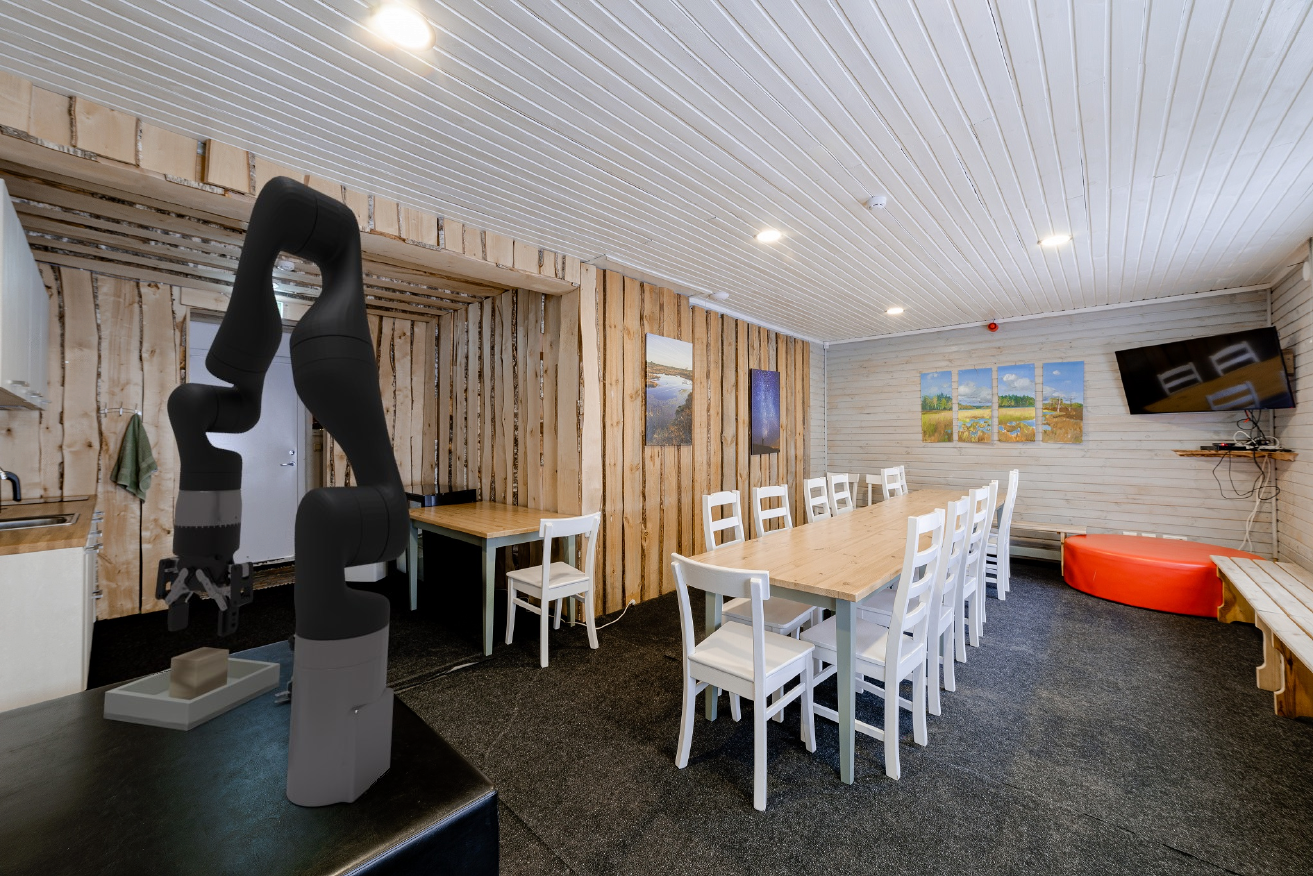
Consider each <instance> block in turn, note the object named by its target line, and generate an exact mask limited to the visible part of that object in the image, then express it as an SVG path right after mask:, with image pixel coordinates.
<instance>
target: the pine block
mask: <svg viewBox="0 0 1313 876" xmlns="http://www.w3.org/2000/svg"><path fill="white" fill-rule="evenodd" d="M229 653H230V649H222V648H214V647H206V646H203V647H200V648H197V649H194V650H192V651H188V652H185V653H182V654H180V655H176V656H173V657H171V659H170V660H171V661H170V668H171V673H170V688H169V697H171V698H178V699H185V700H192V699H194V698H196V697H199V696H201V695H203V694H206V693H208V692H210V691H213V690H215V689H217V688H220V687H222V686H224V685H226V684H227V673H228V658H229V657H230V656H229V655H230V654H229ZM174 669H175V670H174Z"/></svg>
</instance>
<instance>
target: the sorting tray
mask: <svg viewBox="0 0 1313 876" xmlns="http://www.w3.org/2000/svg"><path fill="white" fill-rule="evenodd" d="M280 669H281V663H277V662H269V661H261V660H253V659H245V658H235V657H228V673H227V684H226V685H224V686H222V687H220V688H217V689H215V690H213V691H210V692H208V693H206V694H203V695H201V696H199V697H196V698H194V699H192V700H185V699H178V698H171V697H169V688H170V673H171V671H168V670H171V667H170V668H167V669H164V670H162V671H161V672H163V673H159V672H156V673H154V675H153V674H151V675H148V676H146V677H143V678H139V679H137V680H135V681H132V682H129V683H127V684H126V683H125V684H124V685H121V686H118V687H116V688H112V689H110V690H107V691H105V692H104V693H105V694H104V705H103V708H104V709H103V719H107V720H114V721H119V722H127V723H133V724H139V725H140V724H141V725H145V726H153V727H159V728H166V729H173V730H179V731H186V732H187V731H190V730H192V729H194V728H196V727H198V726H200V725H203V724H205V723H206V722H209V721H211V720H212V719H214V718H217V717H219V716H221V715H223V714H225V713H227V712H229V711H231V710H233V709H235V708H237V707H239V706H242V705H243V704H246V703H247V702H250V701H252V700H255V699H256V698H259V697H260V696H262V695H264V694H266V693H268V692H270V691H272V690H274V689H276V688H279V687H280V673H281V670H280ZM164 671H168V672H164ZM157 673H158V674H157Z"/></svg>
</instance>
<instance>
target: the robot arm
mask: <svg viewBox="0 0 1313 876" xmlns="http://www.w3.org/2000/svg"><path fill="white" fill-rule="evenodd" d="M258 193H259V194H258V195H257V197H256V199H255V202H254V204H253V207H252V211H251V214H250V217H249V221H248V225H247V228H246V233H245V237H244V241H243V245H242V248H241V252H240V257H239V260H238V264H237V269H236V271H235V272H236V274H235V277H234V283H233V285H232V292H231V295H230V298H229V302H228V305H227V308H226V311H225V313H224V316H223V318H222V320H221V323H220V325H219V327H218V330H217V332H216V333H215V334H216V335H215V336H214V338H213V340H212V342H211V345H210V348H209V350H208V352H207V354H206V357H205V360H204V364H205V365H204V366H205V368H206V370H207V372H208V373H210V374H211V375H212V376H214V377H215V378H216V379H218V380H220V381H223V382H225V383H228V384H231V385H233V386H225V385H224V386H222V385H213V384H208V383H207V384H205V383H198V382H185V383H182V384H180V385H178V386H176V387H175V388H174V389H173V390H172V392H171V393H170V394H169V396H168V399H167V404H166V410H167V416H168V419H169V422H170V425H171V429H172V432H173V435H174V438H175V442H176V448H177V451H178V455H179V463H180V466H179V469H180V470H179V480H178V481H179V483H178V494H177V499H176V503H175V507H174V508H175V509H174V523H173V525H174V526H173V536H172V537H173V538H172V540H173V541H172V554H173V555H174V556H172V557H167V558H161V559H160V560H159V561H158V567H157V576H156V584H155V585H156V586H155V593H154V594H155V595H154V598H155V599H156V600H158V601H160V600H163V601H164V603H165V605H166V606H167V609H168V610H167V622H166V623H167V630H168V631H170V632H176V631H177V632H178V631H180V630H183V629H186V628H187V627H188V625H189V612H190V611H189V610H190V601H189V602H187V601H188V600H189V599H190V598H191V597H192V595H193V593H194V592H195V591H199V592H202V593H207V595H208V596H209V598H211V599H214V600H215V602H216V603H217V605H218V607H219V609H220V610H218V617H217V632H216V633H217V636H219V637H227V636H229V635H232V634H234V633H235V632H236V631H237V629H238V626H239V613H240V612H239V611H240V607H241V606H243V605H246V604H250V603H252V602H253V601H254V562H252V561H245V562H240V563H237V562H235V560H234V559H235V558H234V555H235V553H236V552H237V551H239V549H240V548H241V546H240V545H241V529H242V515H243V514H242V513H243V499H242V479H243V478H242V477H243V464H244V463H243V457H242V455H241V454H240V453H239V452H237V451H235V450H231V449H226V448H221V447H217V446H214V445H213V444H212V443H211V440H210V439H209V438H208V435H207V433H211V434H212V433H213V434H234V435H239V434H244V433H248V432H249V431H250V430H252V429H253V428H254V427H256V426H257V425H258V423H259V421H260V419H261V415H262V401H263V400H262V399H263V391H264V390H263V389H264V384H265V380H266V375H267V372H268V370H269V369H270V366H271V364H272V362H273V360H274V358H275V357H276V354H277V353H278V350H279V349H280V348H279V347H280V345H281V342H282V339H283V334H284V333H283V332H284V331H283V322H282V321H283V320H282V316H281V312H280V309H279V305H278V302H277V298H276V294H275V290H274V282H273V281H274V280H273V274H274V272H273V271H274V266H275V263H276V262H277V259H278V256H279V254H280V253H281V252H283V253H286V254H288V255H292V256H295V257H297V258H300V259H303V260H305V261H308V262H311V263H314V264H315V265H317V266H318V268H319V271H320V275H321V292H320V294H319V295H318V297H317V298H316V299H315V301H314V302H313V303H312V304H311V306H310V307H309V308H307V310H306V311H305V313H304V314H303V315H302V316H301V317H300V319H299V320H298V322H296V324H295V326H294V327H293V329H292V331H291V334H290V336H289V342H288V343H289V344H288V345H289V355H290V356H289V357H290V365H291V371H292V380H293V385H294V389H295V391H296V394H297V396H298V397H299V400H300V401H301V402H302V404H303V405H304V407H305V408H306V409H307V410H308V411H309V412H310V414H311V415H312V417H314V419H315V420H316V421H317V422H318V423H319V425H321V427H322V428H323V430H325V431H326V432H327V434H329V435H330V436H331V438H332V439H333V440H334V441H335V442H336V444H337V445H338V446H339V447H340V449H341V450H342V452H343V453H344V455H345V457H346V458H347V461H348V463H349V464H350V467H351V470H352V474H353V477H354V480H355V485H351V486H350V485H349V486H346V485H345V486H322V487H316V488H313V489H310V490H308V491H307V492H306V493H305V494H304V496H303V497H302V498H301V500H300V502H299V504H298V507H297V511H296V514H295V520H294V535H293V536H294V538H293V539H294V542H293V543H294V545H293V546H294V589H293V590H294V591H293V598H294V599H293V600H294V611H295V632H296V633H294V634H295V650H294V651H293V652H294V653H293V670H292V676H293V683H292V700H291V702H290V704H291V705H290V719H289V721H290V723H289V736H288V737H289V739H288V755H287V756H288V757H287V758H288V759H287V760H288V761H287V775H286V776H287V777H286V791H285V792H286V798H287V800H289V801H290V802H291V803H293V804H295V805H298V806H303V807H322V806H329V805H333V804H337V803H353V802H355V801H356V800H357V799H358V798H360V797H361V796H362V794H364V793H366V791H367V790H369V788H371V787H372V786H373V785H374V784H375V783H376V782H377V779H378V778H380V776H382V775H383V774H384V773H385V772H386V771H387V770H388V769H389V768H390V767H391V752H392V751H391V750H392V749H391V747H392V734H393V733H392V731H393V711H394V709H393V708H394V689H393V688H391V687H387V676H388V673H387V672H388V671H387V670H388V650H389V637H390V636H389V634H390V633H389V632H390V631H389V630H390V618H391V617H390V616H391V604H390V600H389V598H387V597H386V596H385V595H382V594H381V593H378V592H372V591H367V590H360V589H355V588H351V587H349V586H347V583H346V574H345V571H346V570H345V569H348V568H354V567H361V566H366V565H375V564H380V563H384V562H385V563H386V562H390V561H394V560H396V559H399V558H400V557H401V556H402V555H403V554H404V552H405V551H406V549H407V548H408V545H409V542H410V535H411V530H412V529H411V526H412V525H411V515H410V508H409V504H408V503H409V501H408V498H407V495H406V491H405V488H404V484H403V483H404V482H403V481H402V480H403V479H402V477H401V473H400V470H399V466H398V463H397V459H396V456H395V452H394V448H393V445H392V442H391V439H390V434H389V430H388V425H387V421H386V415H385V409H384V403H383V398H382V393H381V387H380V386H381V385H380V384H381V383H380V377H379V371H378V364H377V358H376V352H375V348H374V344H373V339H372V335H371V330H370V324H369V318H368V317H369V316H368V310H367V304H366V297H365V295H366V294H365V288H364V278H363V277H364V275H363V274H364V273H363V259H362V258H363V257H362V255H363V254H362V238H361V231H360V226H359V221H358V219H357V216H356V214H355V213H354V211H353V210H352V209H351V208H350V207H349V206H348V205H346V204H345V203H343V202H341V201H339V200H338V199H336V198H334V197H332V196H330V195H327V194H325V193H323V192H321V191H319V190H316V189H315V188H312V187H311V186H308V185H306V184H304V183H302V182H301V181H299V180H296V179H293V178H290V177H289V176H284V175H277V176H274V177H272V178H270V179H269V180H268V181H267V182H266V183H264V185H263V186H262V188H261V190H260V191H259V192H258ZM168 583H170V586H169V589H167V584H168ZM224 586H225V587H224ZM241 590H242V591H243V593H242V592H241ZM241 593H242V594H243V595H241ZM226 596H227V597H228V598H229V599H228V598H227V597H226ZM390 769H391V768H390ZM384 775H385V774H384ZM384 775H383V776H384ZM383 776H382V777H383ZM380 779H381V778H380ZM375 781H376V782H375ZM374 782H375V783H374ZM373 783H374V784H373ZM372 784H373V785H372ZM371 785H372V786H371ZM370 786H371V787H370Z"/></svg>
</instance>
